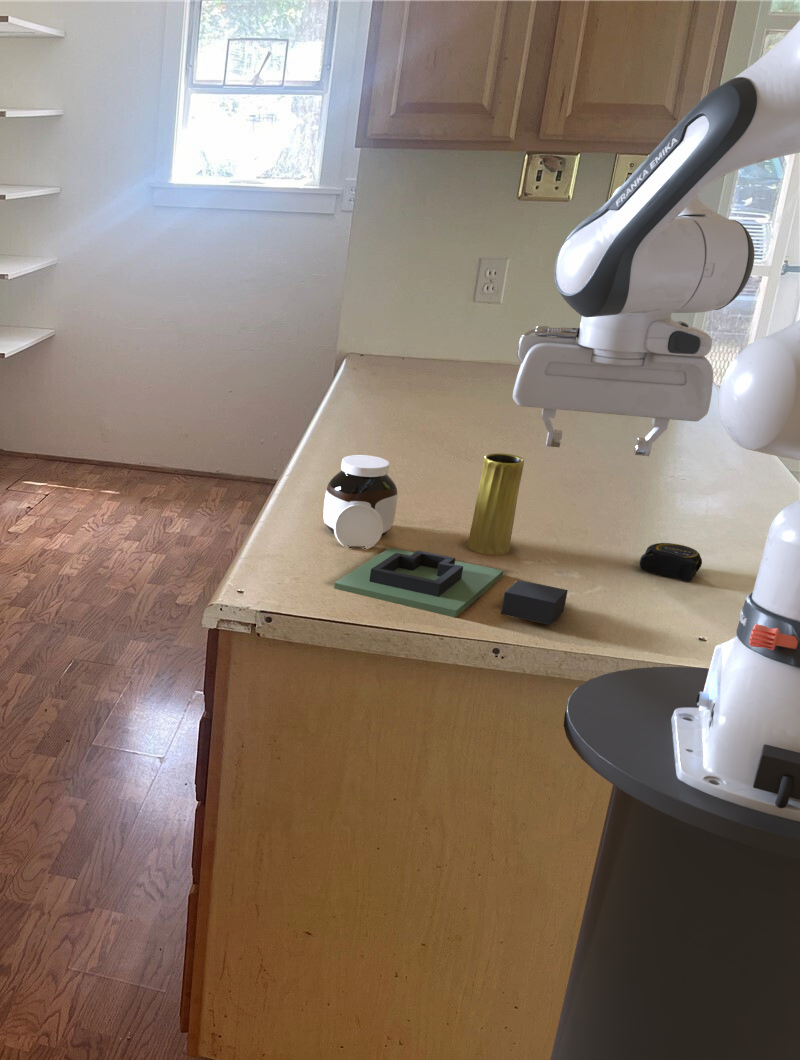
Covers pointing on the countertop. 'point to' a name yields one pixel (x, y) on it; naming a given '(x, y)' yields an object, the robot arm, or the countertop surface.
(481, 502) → the vase
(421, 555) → the socket mat
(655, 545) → the tape measure
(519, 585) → the plug
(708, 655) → the countertop surface
